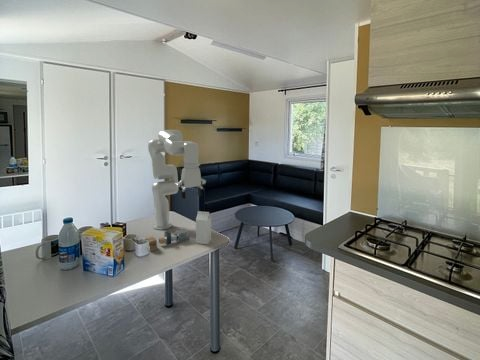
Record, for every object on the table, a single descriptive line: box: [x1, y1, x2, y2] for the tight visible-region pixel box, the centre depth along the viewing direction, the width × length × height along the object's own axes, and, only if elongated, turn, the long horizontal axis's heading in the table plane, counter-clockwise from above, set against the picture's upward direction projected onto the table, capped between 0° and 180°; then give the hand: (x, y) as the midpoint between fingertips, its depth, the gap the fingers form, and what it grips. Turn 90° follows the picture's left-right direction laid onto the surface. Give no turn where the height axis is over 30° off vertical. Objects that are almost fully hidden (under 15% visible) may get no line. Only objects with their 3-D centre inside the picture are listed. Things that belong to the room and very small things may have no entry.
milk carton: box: [195, 210, 212, 245], centre depth 166 cm, size 7×7×19 cm
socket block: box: [144, 235, 158, 252], centre depth 157 cm, size 7×4×6 cm, turn 37°
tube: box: [158, 230, 178, 246], centre depth 165 cm, size 4×17×7 cm, turn 127°
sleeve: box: [174, 228, 190, 244], centre depth 168 cm, size 5×7×6 cm
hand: (191, 197), depth 149 cm, fingers open, 9 cm apart
